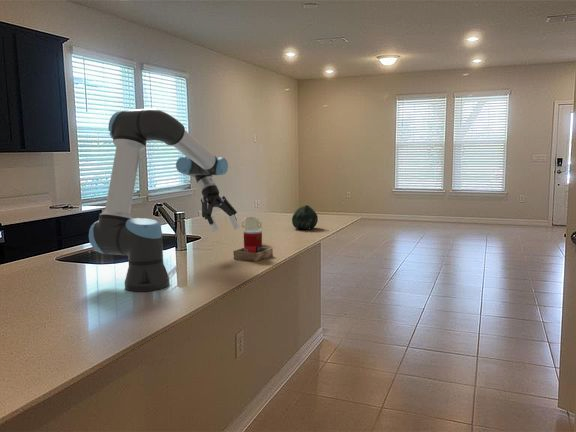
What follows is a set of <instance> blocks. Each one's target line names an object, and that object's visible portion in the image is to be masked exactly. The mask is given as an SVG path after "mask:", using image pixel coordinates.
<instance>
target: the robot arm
mask: <svg viewBox="0 0 576 432" xmlns="http://www.w3.org/2000/svg"><path fill="white" fill-rule="evenodd" d="M108 132H109V136H110V137H111V139H112V144H113V145H114V146H115V153H114V158H113V165H112V169H111V174H110V181H109V187H108V192H107V198H106V203H105V208H104V210H103V212H101V213H99V217H98V220H97V221H95V222H93V223H92V224H91V225H90V228H89V230H88V241H89V244H90V245H91V247H92V249H93V250H94V251H95V252H97V253H99V254H105V255H108V256H109V255H110V256H111V255H115V256H116V255H117V256H127V257H128V259H127V260H128V268H127V272H126V275H125V279H124V289H125V290H127V291H129V292H136V293H137V292H152V291H157V290H161V289H165V288H167V287H169V286H170V277H169V274H168V272H167V268H166V266H165V263H164V249H163V248H164V247H163V231H162V225H161V223H160V222H159V221H157V220H155V219H153V218H143V217H142V218H141V217H137V218H133V217H132V216H131V209H132V204H133V203H132V202H133V196H134V191H135V185H136V179H137V173H138V167H139V161H140V156H141V152H142V151H144V150H145V149H146V145H147V142H149V141H151V142H152V141H156V142H162V143H165V145H167V146H173V148H175V149H176V150H178V151H179V152H181V153H182V154H183V156H180V157H178V159H177V160H176V163H175V168H176V170H177V172H179V173H180V174H183V175H186V176H189V177H193V178H195V180H196V183H197V186H198V188H199V190H200V192H201V195H202V198H201V199H200V202H201V217H202V218H203V219H204V220H207V222H208V224H209V225H210V227H211V229H212V232H213V233H215V232H217V231H218V230H219V226H218V225H217V222H216V220H215V218H214V216H213V215H212V213H213V210H214V208H218V209H220V210H222V211H223V212H224V213H225V214H227V215H228V217H229V220H230V222H231V225H232V227H233V229H234V230H235V231H236V230H237V229H239V228H240V224H239V223H238V219H237V217H236V214H237V213H238V211H237V210H236V209H235V208H234V207H233V205H232V204H231V203H230V202H229V200H227V198H226V196H224V195H223V196H222V197H221V196H220V191H219V188H218V186H217V184H216V182H215V180H214V177H213V176H224V175H225V174H227V172H228V170H229V169H228V168H229V163H228V160H227V159H226V157H220V156H219V157H216V156H215V154H213V153H212V152H211V151H210V150H209V149H208V148H206V147H205V146H204V144H202V143H201V142H199V141H198V140H197V139H196V138H194V136H193V135H191V134H190V132H188V131H187V130H186V128H185V126H184V125H183V124H182V123H181V122H180V121H179V120H178V119H177V118H175V117H174V116H172V115H170V114H169V113H167V112H165V111H163V110H159V109H157V108H151V107H150V108H139V109H138V108H137V109H136V108H135V109H128V108H127V109H122V110H118V111H116V112H114V113H112V116H111V117H110V119H109V120H108Z"/></svg>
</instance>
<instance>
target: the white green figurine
mask: <svg viewBox="0 0 576 432" xmlns="http://www.w3.org/2000/svg"><path fill="white" fill-rule="evenodd" d="M259 219H260V218H259V217H257V216H247V217H244V219H243V220H241V228H244V231H245V230H260V229H261V228H263V223H262V221H260V220H259Z"/></svg>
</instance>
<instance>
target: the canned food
mask: <svg viewBox="0 0 576 432" xmlns="http://www.w3.org/2000/svg"><path fill="white" fill-rule="evenodd" d="M262 247H263V233H262V230H261V229H258V230H245V229H244V230H243V248H244V252H251V253H257V252H260V251H262Z"/></svg>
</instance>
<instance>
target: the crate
mask: <svg viewBox="0 0 576 432" xmlns="http://www.w3.org/2000/svg"><path fill="white" fill-rule="evenodd" d="M232 252H233V260H239V261H240V260H241V261H249V262H255V263H256V262H259V260H260V261H262V259H263V260H265V258H266V259H268V257H269V258H272V257H274V256H273V255H274V254H273V253H274V250H273V248H271V247H265V246H264V247H263V246H262V251H260V252H257V253H251V252H244V247H243V248H239V249H235V250H232ZM271 256H272V257H271Z"/></svg>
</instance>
